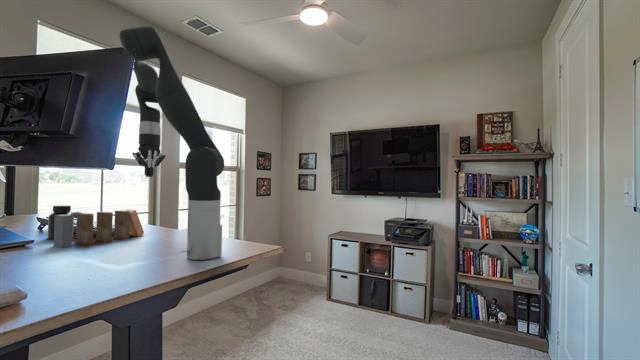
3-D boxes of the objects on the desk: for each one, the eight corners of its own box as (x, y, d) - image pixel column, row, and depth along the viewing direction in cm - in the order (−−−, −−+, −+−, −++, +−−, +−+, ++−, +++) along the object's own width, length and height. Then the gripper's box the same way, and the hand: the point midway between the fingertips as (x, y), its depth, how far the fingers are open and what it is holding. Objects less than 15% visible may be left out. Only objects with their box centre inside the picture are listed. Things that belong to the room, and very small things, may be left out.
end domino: (63, 245, 95) (63, 214, 95) (71, 247, 93) (72, 215, 93) (53, 246, 93) (54, 215, 93) (62, 248, 91) (63, 216, 91)
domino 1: (84, 242, 100) (85, 212, 100) (92, 243, 98) (93, 213, 98) (76, 243, 98) (76, 213, 98) (84, 245, 96) (85, 214, 96)
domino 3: (120, 236, 111) (121, 210, 111) (129, 237, 109) (129, 211, 109) (114, 237, 109) (114, 210, 109) (122, 239, 107) (123, 211, 107)
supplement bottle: (62, 241, 101) (63, 206, 101) (41, 241, 100) (42, 206, 101) (78, 238, 107) (79, 205, 108) (59, 237, 107) (60, 204, 107)
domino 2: (103, 239, 106) (104, 211, 106) (111, 240, 104) (112, 212, 104) (96, 240, 104) (96, 212, 104) (104, 241, 101) (105, 212, 102)
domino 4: (136, 232, 116) (127, 209, 113) (144, 233, 114) (135, 210, 111) (130, 235, 114) (121, 212, 111) (138, 236, 112) (129, 212, 109)
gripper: (158, 137, 126) (158, 177, 126) (127, 132, 114) (126, 176, 114) (170, 136, 123) (170, 177, 123) (139, 130, 111) (138, 176, 111)
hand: (149, 176), depth 118 cm, fingers closed
